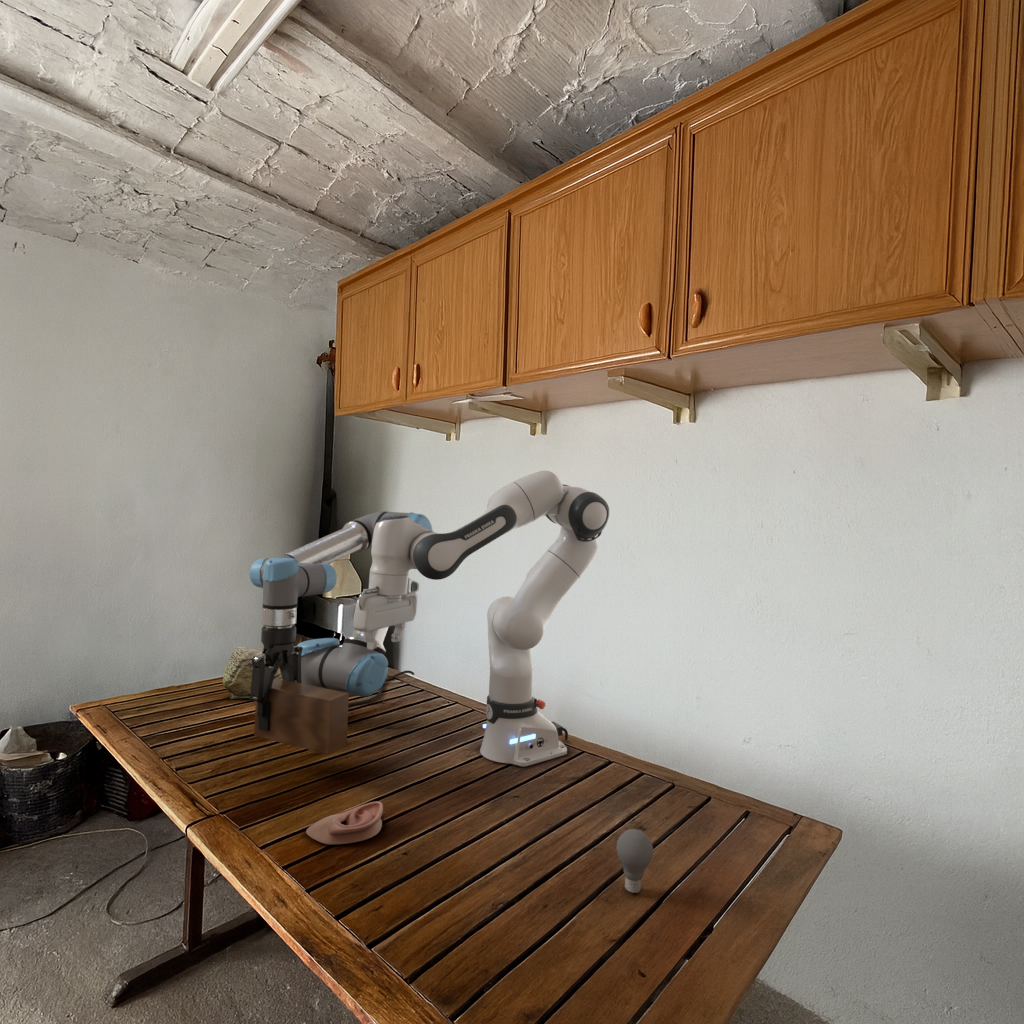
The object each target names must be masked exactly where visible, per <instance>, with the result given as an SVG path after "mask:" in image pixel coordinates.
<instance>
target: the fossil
mask: <svg viewBox="0 0 1024 1024" xmlns="http://www.w3.org/2000/svg"><path fill="white" fill-rule="evenodd" d="M262 651H263V648H260V647H258V648H251V647H247V646H246V647H245V646H238V647H237V648H236V649H235V650H233V651H232V653H231V656H230V657H229V659H228V660H227V663H226V666H225V668H224V671H223V675H222V676H223V677H222V685H223V687H224V688H225V690H226V691H228V693H229V698H230V699H250V693H251V683H252V672H253V665H252V657H253V656H255V657H258V656H259V655H261V654H262ZM269 667H270V666H269ZM270 668H273V667H270ZM274 679H281V680H282V675H281V671H280V668H278V671H277V672H276V673H275V676H274Z"/></svg>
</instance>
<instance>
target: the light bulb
mask: <svg viewBox="0 0 1024 1024" xmlns="http://www.w3.org/2000/svg"><path fill="white" fill-rule="evenodd" d="M615 849H616V854H617V857H618V859H619V861H620V863H621V865H622V867H623V873H624V874H623V875H624V876H625V878H624V888H625V890H627V891H628V892H630V893H634V894H635V893H639V892H640V891H641V889H642V887H641V886H642V879H643V877H644V875H645V871H646V868H647V867H648V866H649V864H650V863H651V861H652V859H653V855H654V847H653V843H652V841H651V838H649V836H648V835H647V834H646V833H645V832H643V831H642V830H641V829H636V828H629V829H627V830H625V831H623V832H622V833H621V834H620V835H619V837H618V839H617V841H616V847H615Z"/></svg>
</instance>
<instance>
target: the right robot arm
mask: <svg viewBox="0 0 1024 1024" xmlns="http://www.w3.org/2000/svg"><path fill="white" fill-rule="evenodd" d="M544 516H545V517H546V518H547V519H548V520H549V521H550V522H551V523H553V524H556V525H557V526H560V531H559V533H558V536H557V538H556V539H555V541H554V542H553V543H552V544H551V545H550V546H549V547H548V548H547V549H546V551H545V552H544V553H543V554H542V555H541V557H540V558H538V560H537V561H536V562H535V564H533V566H532V567H531V568H530V569H529V570H528V571H527V573H526V575H525V578H524V580H523V582H522V584H521V585H520V587H519V589H518V591H517V592H516V594H515V596H501V597H497V598H496V599H495V600H493V601H492V602H491V603H490V604H489V606H488V609H487V613H486V618H487V641H488V643H487V645H488V656H489V679H488V680H489V681H488V695H487V697H486V707H485V716H486V718H485V719H486V722H485V723H484V724H482V728H483V729H485V730H484V733H483V734H484V735H483V739H482V742H481V746H480V748H479V753H480V754H481V756H483V757H484V758H485V759H487V760H490V761H492V762H496V763H500V764H501V763H502V764H509V765H514V766H518V767H529V766H532V765H535V764H539V763H542V762H546V761H549V760H553V759H556V758H559V757H563V756H566V755H568V747H567V746H566V745H565V743H563V742H562V741H561V740H559V737H560V736H561V737H563V732H564V740H565V741H568V740H569V732H568V730H567V729H566V727H563V726H562V725H561V724H559V723H557V722H555V721H550V720H549V719H548V718H547V717H546V716H544V715H543V714H542V713H541V712H539V711H538V709H539V710H544V709H545V707H546V702H545V701H544V700H542V699H538V698H536V697H534V696H533V681H534V665H533V661H532V653H531V649H532V648H535V647H536V646H537V645H538V644H539V643H540V642H541V640H542V638H543V636H544V632H545V631H544V630H545V628H546V626H547V625H548V623H549V621H550V619H551V618H552V616H553V614H554V613H555V610H556V609H557V607H558V605H559V604H560V603H561V601H562V600H563V599H564V598H565V596H566V595H567V594H568V593H569V592H570V590H571V589H572V588H573V587H574V585H575V584H576V583H577V582H578V581H579V580H580V578H581V577H582V576H583V575H584V573H585V572H586V570H587V569H588V568H589V566H590V565H591V563H592V562H593V560H594V559H595V557H596V555H597V553H598V550H599V542H598V540H597V539H598V538H599V537H600V536H602V533H603V530H604V529H605V527H606V526H607V524H608V521H609V518H610V506H609V504H608V503H607V501H606V499H604V498H603V496H601V495H600V494H598V493H596V492H594V491H591V490H588V489H585V488H583V487H579V486H573V485H571V486H570V485H569V484H563V483H562V480H560V478H559V477H558V475H557V474H555V473H554V472H552V471H551V470H540V471H537V472H534V473H531V474H528V475H525V476H522V477H520V478H518V479H516V480H514V481H512V482H510V483H508V484H506V485H504V486H503V487H501V488H499V490H497V491H496V492H494V493H493V494H492V495H490V497H489V499H488V501H487V505H486V509H485V511H484V512H483V513H482V514H481V515H479V516H478V517H476V518H475V519H472V520H471V521H470V522H467V523H466V524H464V525H463V526H460V527H459V528H457V529H455V530H453V531H450V532H445V533H438V532H435V531H434V530H433V531H430V530H428V529H426V528H424V527H422V526H420V525H418V524H417V523H415V522H414V521H413V520H411V519H410V518H409V517H408V516H405V515H400V516H388V517H384V518H381V519H380V520H379V521H378V522H377V523H376V525H375V528H374V532H373V539H372V548H371V549H370V554H371V559H372V560H371V561H372V562H371V566H370V569H369V577H368V588H365V589H363V591H362V592H361V593H360V594H359V596H358V598H357V601H356V604H355V609H354V615H353V623H352V626H353V629H355V630H356V631H361V632H364V635H365V637H366V640H367V649H370V650H373V649H376V648H377V644H378V641H375V637H374V635H375V634H376V630H377V629H381V628H385V627H388V628H390V627H393V626H394V630H393V633H392V634H391V636H390V637H391V639H390V640H391V642H392V643H394V644H395V643H399V642H401V640H402V634H403V632H404V630H405V627H406V623H409V622H413V621H414V620H415V618H416V616H417V609H418V597H419V596H418V593H417V592H419V591H420V582H418V581H417V580H414V579H412V578H410V577H409V575H410V570H417V571H418V572H419V574H420V575H422V576H423V577H425V578H427V579H428V580H435V581H439V580H444V579H447V578H448V577H450V576H452V575H453V574H454V573H455V572H456V571H457V569H458V568H459V567H460V565H461V564H462V563H463V562H464V561H465V560H466V559H467V558H468V557H470V556H471V555H472V554H473V553H475V552H477V551H479V550H480V549H482V548H484V547H485V546H487V545H488V544H490V543H492V542H493V541H495V540H497V539H498V538H500V537H502V536H505V535H506V534H509V533H512V532H515V531H517V530H519V529H522V528H524V527H526V526H528V525H530V524H532V523H534V522H535V521H537V520H539V519H540V518H543V517H544Z"/></svg>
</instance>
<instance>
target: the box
mask: <svg viewBox="0 0 1024 1024" xmlns="http://www.w3.org/2000/svg"><path fill="white" fill-rule="evenodd" d="M263 697H264V696H263ZM349 697H350V694H349V693H346V692H341V691H336V690H331V689H326V688H321V687H316V686H311V685H306V684H301V683H296V682H291V681H286V680H281V679H274V680H273V684H272V687H271V691H270V695H269V699H268V701H270V702H271V714H270V730H269V731H264V730H260V729H258V726H259V716H258V715H257V712H258V711H257V708H258V703H257V702H256V701H254V702H255V703H254V728H253V730H254V731H253V732H254V733H253V736H254V737H257V738H262V739H266V740H270V741H273V742H277V743H281V744H285V745H289V746H293V747H297V748H302V749H305V750H309V751H313V752H318V753H320V754H324V755H330V754H332V753H334V752H337V751H338V750H340V749H342V748H344V747H346V746H347V745H348V726H349V706H348V703H349V699H350V698H349Z"/></svg>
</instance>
